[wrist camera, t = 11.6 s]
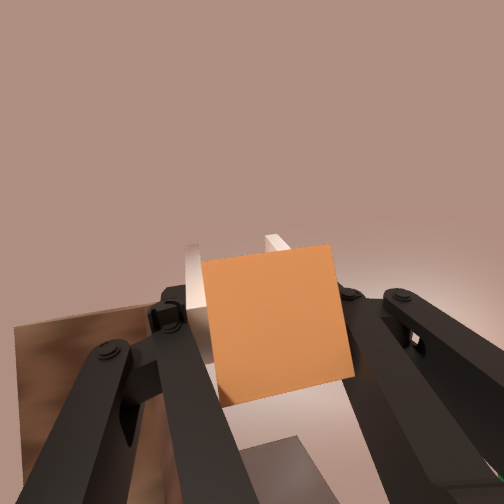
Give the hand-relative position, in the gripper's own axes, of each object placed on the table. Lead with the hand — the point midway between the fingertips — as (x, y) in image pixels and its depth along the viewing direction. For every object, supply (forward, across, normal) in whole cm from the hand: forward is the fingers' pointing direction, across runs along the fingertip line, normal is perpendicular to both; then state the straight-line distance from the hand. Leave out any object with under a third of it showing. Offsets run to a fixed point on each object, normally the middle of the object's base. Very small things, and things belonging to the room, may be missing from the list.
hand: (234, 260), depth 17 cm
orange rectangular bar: (0, 0, -5) cm, 5 cm away
